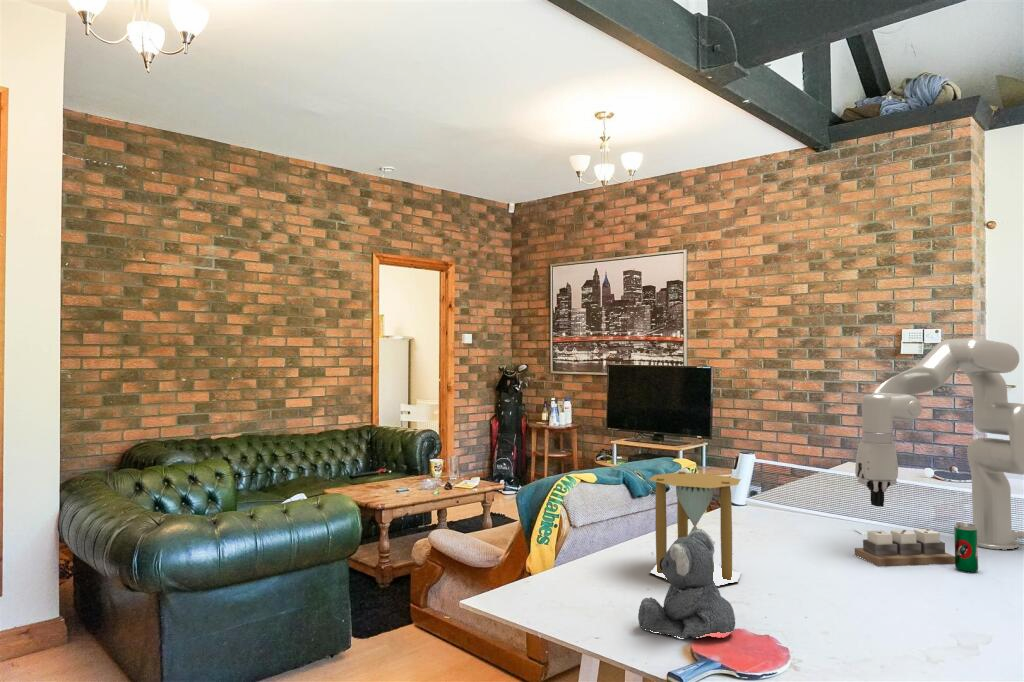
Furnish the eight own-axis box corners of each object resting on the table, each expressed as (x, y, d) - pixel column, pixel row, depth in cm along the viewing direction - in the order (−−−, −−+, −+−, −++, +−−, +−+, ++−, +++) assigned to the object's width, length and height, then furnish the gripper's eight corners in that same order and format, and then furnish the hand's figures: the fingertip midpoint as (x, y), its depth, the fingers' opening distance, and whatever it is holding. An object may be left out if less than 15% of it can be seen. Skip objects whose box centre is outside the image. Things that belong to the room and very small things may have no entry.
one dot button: (882, 543, 194) (882, 530, 194) (892, 547, 190) (892, 534, 190) (867, 543, 194) (867, 530, 194) (877, 548, 189) (877, 534, 189)
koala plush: (671, 607, 156) (670, 519, 156) (750, 626, 144) (749, 532, 145) (632, 630, 142) (631, 534, 143) (716, 653, 131) (715, 549, 132)
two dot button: (928, 541, 195) (928, 528, 196) (940, 545, 191) (939, 532, 191) (914, 542, 195) (914, 529, 195) (925, 546, 191) (925, 533, 191)
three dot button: (905, 542, 195) (905, 529, 195) (916, 546, 190) (916, 533, 190) (891, 543, 194) (890, 529, 194) (901, 547, 190) (901, 533, 190)
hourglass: (632, 574, 180) (631, 477, 180) (676, 556, 196) (675, 467, 197) (717, 595, 164) (716, 488, 164) (757, 573, 180) (756, 477, 181)
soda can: (981, 573, 179) (980, 527, 179) (960, 572, 180) (959, 526, 180) (973, 568, 184) (971, 522, 184) (951, 567, 185) (950, 521, 185)
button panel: (927, 552, 199) (926, 535, 199) (955, 563, 188) (955, 545, 188) (854, 555, 196) (854, 537, 197) (879, 566, 186) (878, 547, 186)
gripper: (893, 437, 197) (893, 503, 196) (843, 437, 195) (843, 503, 195) (911, 440, 189) (911, 508, 189) (860, 440, 188) (860, 508, 187)
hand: (877, 505), depth 192 cm, fingers closed
